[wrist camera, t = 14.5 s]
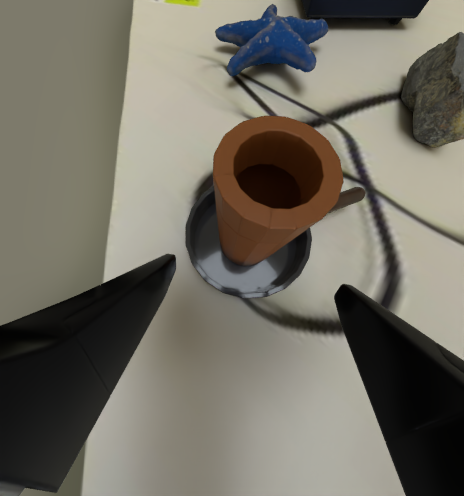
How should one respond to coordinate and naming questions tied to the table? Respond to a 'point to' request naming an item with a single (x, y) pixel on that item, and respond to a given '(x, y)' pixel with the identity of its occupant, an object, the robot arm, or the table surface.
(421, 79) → the rock
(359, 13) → the speaker
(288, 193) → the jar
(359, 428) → the table surface
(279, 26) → the starfish
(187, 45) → the table surface
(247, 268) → the pan
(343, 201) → the pan handle
